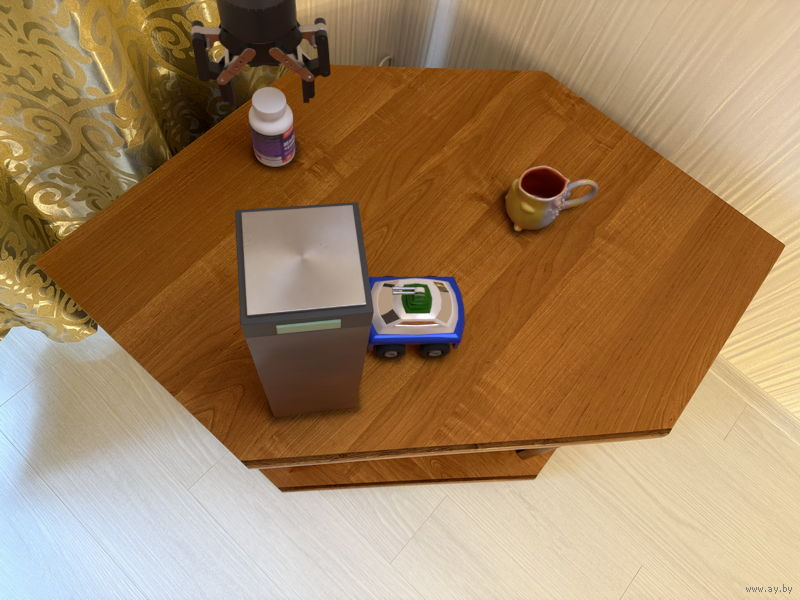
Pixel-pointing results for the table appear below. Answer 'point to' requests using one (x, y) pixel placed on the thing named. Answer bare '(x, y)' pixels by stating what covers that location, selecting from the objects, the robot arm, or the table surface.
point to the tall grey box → (305, 303)
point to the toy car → (415, 315)
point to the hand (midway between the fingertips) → (269, 99)
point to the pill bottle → (272, 127)
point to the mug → (542, 197)
